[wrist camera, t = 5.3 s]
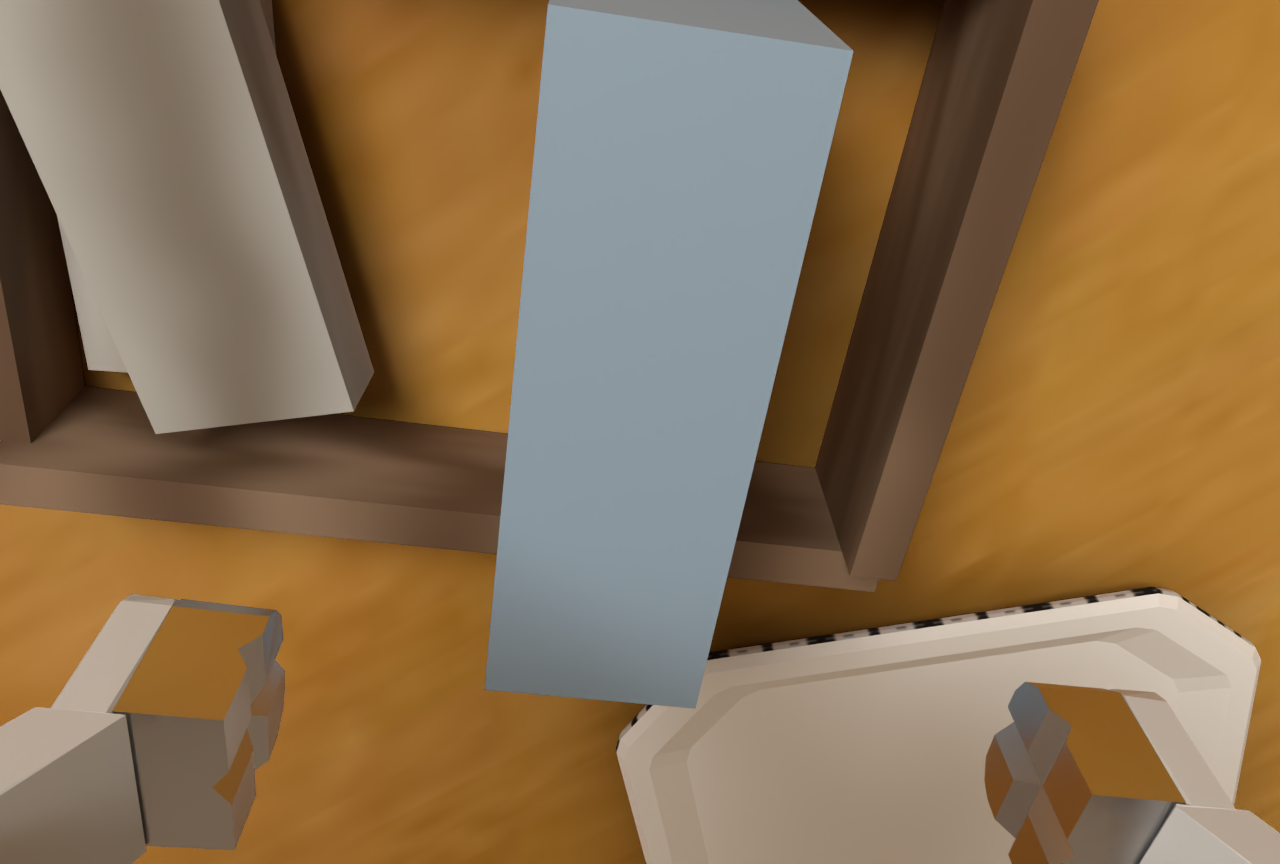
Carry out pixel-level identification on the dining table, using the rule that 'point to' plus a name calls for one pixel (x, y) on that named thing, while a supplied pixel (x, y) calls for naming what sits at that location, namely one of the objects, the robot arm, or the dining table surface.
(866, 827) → the plate
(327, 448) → the frame
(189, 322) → the offcut upper
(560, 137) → the slate blue block
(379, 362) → the dining table surface
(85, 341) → the offcut lower
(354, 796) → the dining table surface
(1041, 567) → the dining table surface
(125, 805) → the robot arm
